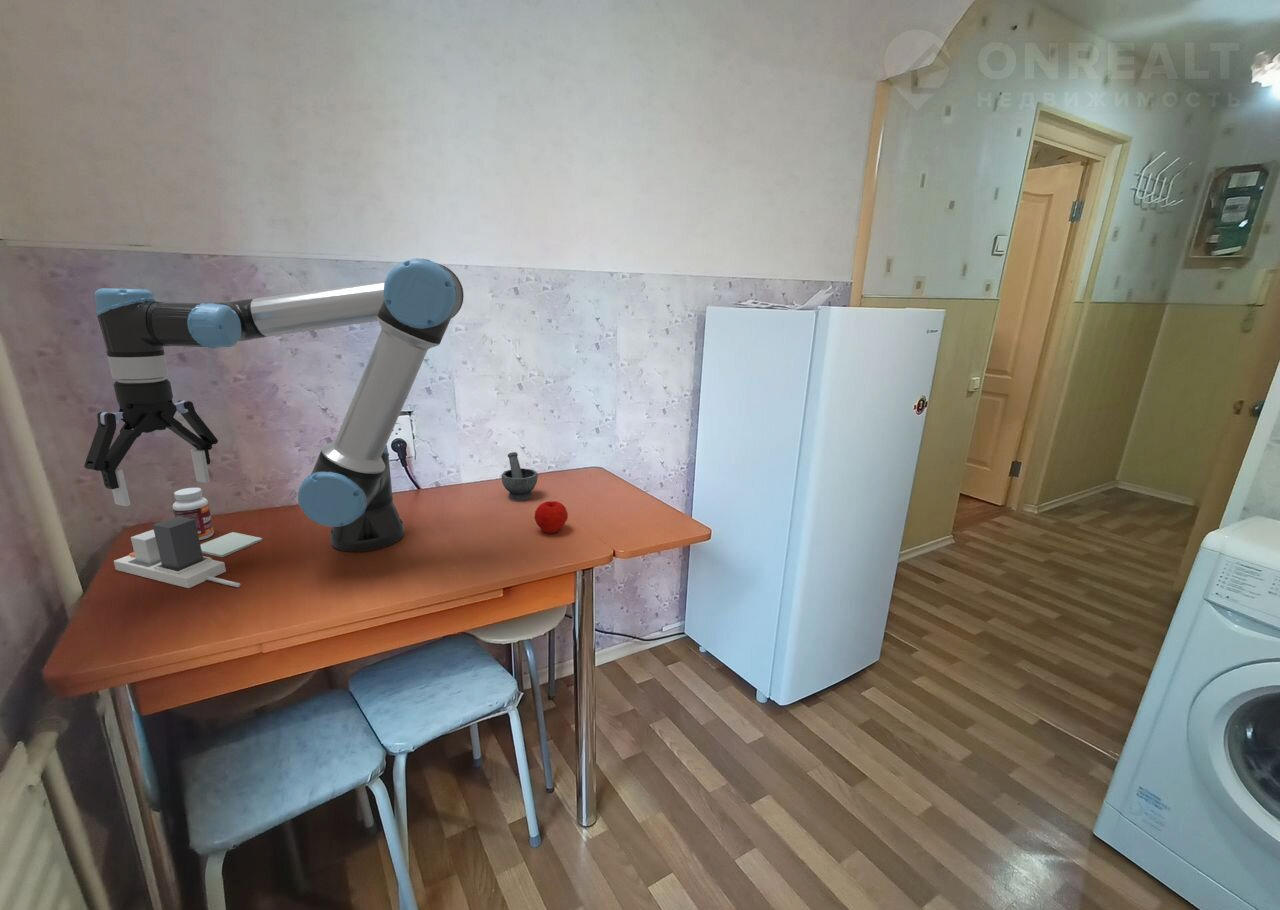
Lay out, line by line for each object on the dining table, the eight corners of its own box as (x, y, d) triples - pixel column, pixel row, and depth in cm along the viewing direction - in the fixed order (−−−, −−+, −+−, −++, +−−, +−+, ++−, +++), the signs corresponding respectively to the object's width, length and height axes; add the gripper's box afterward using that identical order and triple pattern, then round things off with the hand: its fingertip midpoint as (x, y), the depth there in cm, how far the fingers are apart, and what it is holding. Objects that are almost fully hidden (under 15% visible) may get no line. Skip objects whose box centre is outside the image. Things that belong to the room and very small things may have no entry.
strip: (256, 578, 106) (250, 545, 104) (220, 596, 99) (212, 561, 97) (155, 554, 114) (148, 523, 112) (116, 569, 107) (107, 537, 105)
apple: (555, 521, 137) (555, 493, 135) (574, 531, 132) (574, 502, 130) (528, 529, 132) (527, 501, 130) (547, 540, 126) (547, 510, 124)
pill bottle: (213, 539, 122) (204, 493, 119) (177, 545, 118) (167, 497, 115) (215, 529, 127) (206, 484, 123) (181, 534, 123) (171, 489, 120)
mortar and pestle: (542, 499, 152) (542, 458, 148) (510, 505, 147) (509, 463, 143) (527, 487, 161) (526, 448, 157) (496, 492, 156) (494, 452, 152)
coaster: (262, 540, 122) (262, 538, 122) (222, 557, 114) (221, 555, 113) (232, 534, 124) (232, 532, 124) (191, 550, 116) (190, 548, 116)
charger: (204, 561, 107) (195, 519, 105) (179, 571, 103) (169, 528, 101) (188, 557, 109) (178, 515, 106) (162, 567, 104) (152, 524, 102)
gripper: (200, 370, 108) (218, 471, 114) (34, 387, 85) (67, 512, 91) (227, 373, 106) (245, 475, 112) (65, 391, 83) (98, 519, 89)
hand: (165, 492), depth 102 cm, fingers open, 13 cm apart
